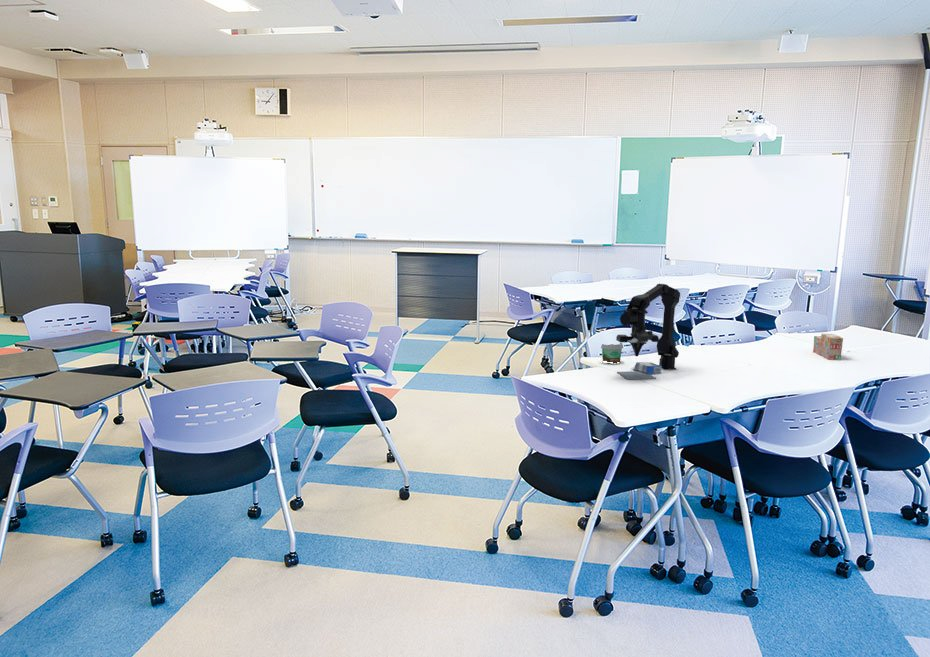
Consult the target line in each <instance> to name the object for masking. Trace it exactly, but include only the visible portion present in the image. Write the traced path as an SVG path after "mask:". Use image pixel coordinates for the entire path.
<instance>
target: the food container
mask: <svg viewBox="0 0 930 657" xmlns="http://www.w3.org/2000/svg"><path fill="white" fill-rule="evenodd" d="M600 349H601V352H602V353H601V354H602V362H603V361H607V362H613V363H617V362H620V363H621V356H622V351H623V350H622V349H624V345H623V342H619V344H613V343H612V344H604V343H602V344H601V346H600Z"/></svg>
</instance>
